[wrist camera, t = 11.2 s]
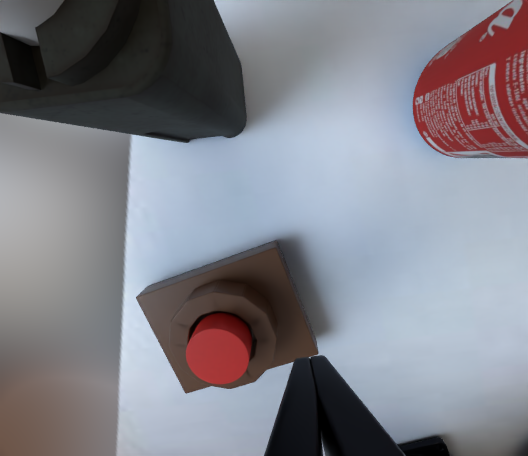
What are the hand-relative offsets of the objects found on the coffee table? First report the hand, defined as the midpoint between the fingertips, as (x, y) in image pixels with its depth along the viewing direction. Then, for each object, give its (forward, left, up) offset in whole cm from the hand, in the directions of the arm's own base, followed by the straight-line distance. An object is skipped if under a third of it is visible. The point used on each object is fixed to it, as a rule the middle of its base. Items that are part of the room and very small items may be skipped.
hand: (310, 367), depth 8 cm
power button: (-6, -3, -9) cm, 11 cm away
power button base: (-6, -3, -12) cm, 13 cm away
